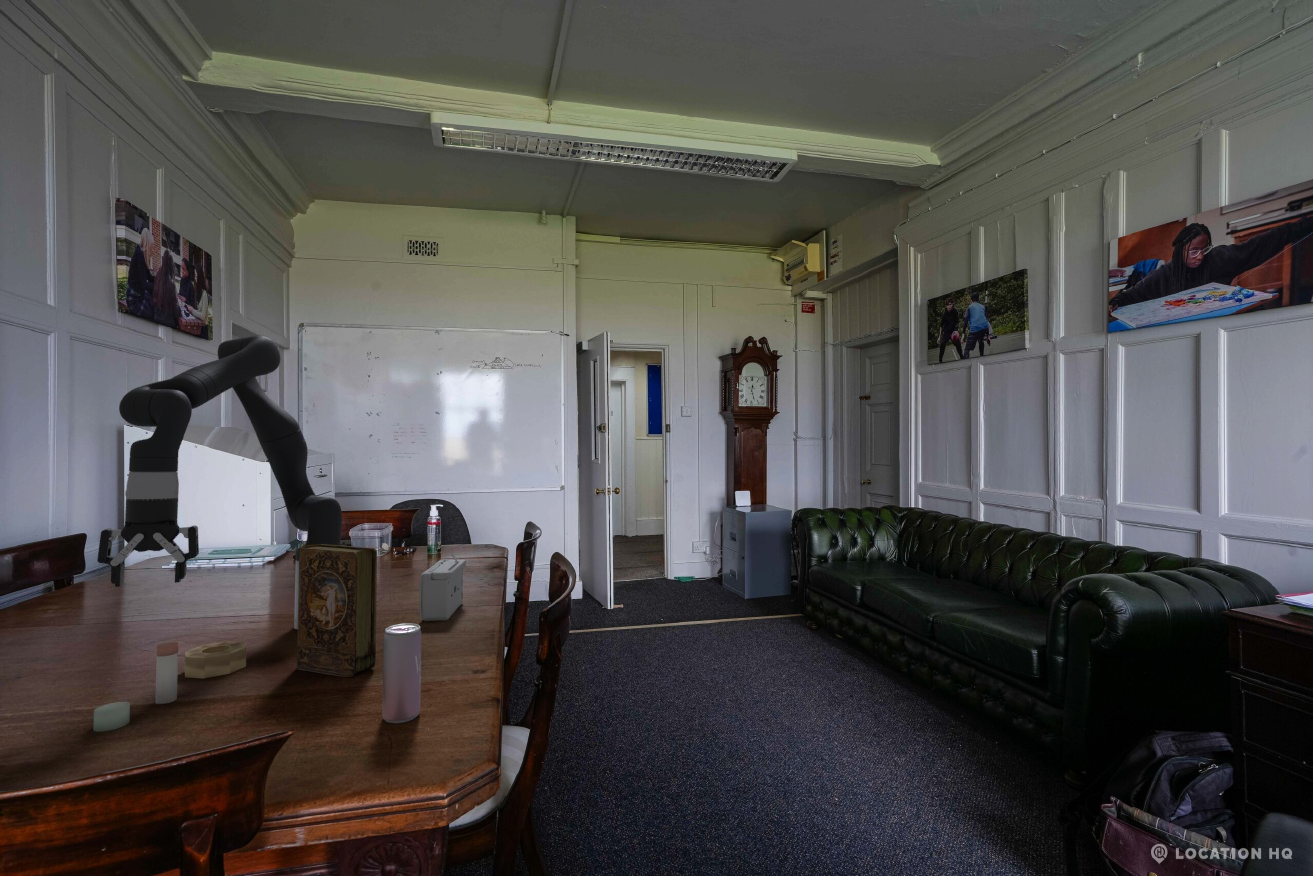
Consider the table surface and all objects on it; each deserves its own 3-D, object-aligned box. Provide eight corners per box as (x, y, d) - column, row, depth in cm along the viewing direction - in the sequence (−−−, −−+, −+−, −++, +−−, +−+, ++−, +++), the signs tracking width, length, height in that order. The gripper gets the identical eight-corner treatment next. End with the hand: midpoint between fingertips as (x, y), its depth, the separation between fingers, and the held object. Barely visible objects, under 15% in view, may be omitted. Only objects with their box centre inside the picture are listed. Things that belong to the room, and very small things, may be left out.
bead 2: (242, 657, 132) (242, 638, 132) (247, 670, 125) (247, 650, 125) (184, 667, 126) (184, 648, 126) (185, 681, 118) (186, 661, 118)
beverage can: (389, 709, 106) (390, 623, 106) (424, 709, 107) (425, 623, 107) (376, 725, 100) (378, 633, 101) (413, 724, 101) (415, 633, 101)
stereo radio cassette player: (437, 603, 180) (438, 536, 181) (466, 602, 181) (467, 535, 182) (417, 623, 160) (419, 547, 160) (450, 622, 161) (451, 546, 161)
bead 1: (130, 717, 103) (130, 699, 103) (128, 726, 99) (129, 708, 99) (94, 724, 100) (95, 706, 100) (92, 734, 96) (92, 715, 96)
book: (292, 668, 126) (294, 547, 126) (315, 660, 131) (317, 543, 132) (354, 678, 120) (356, 552, 121) (375, 669, 126) (377, 548, 126)
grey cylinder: (176, 696, 111) (178, 641, 112) (177, 701, 109) (178, 645, 109) (155, 700, 110) (156, 644, 110) (155, 705, 107) (156, 648, 107)
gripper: (203, 494, 120) (200, 577, 119) (108, 495, 113) (104, 583, 112) (196, 496, 113) (193, 584, 112) (95, 498, 106) (91, 591, 106)
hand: (148, 583), depth 112 cm, fingers open, 8 cm apart
